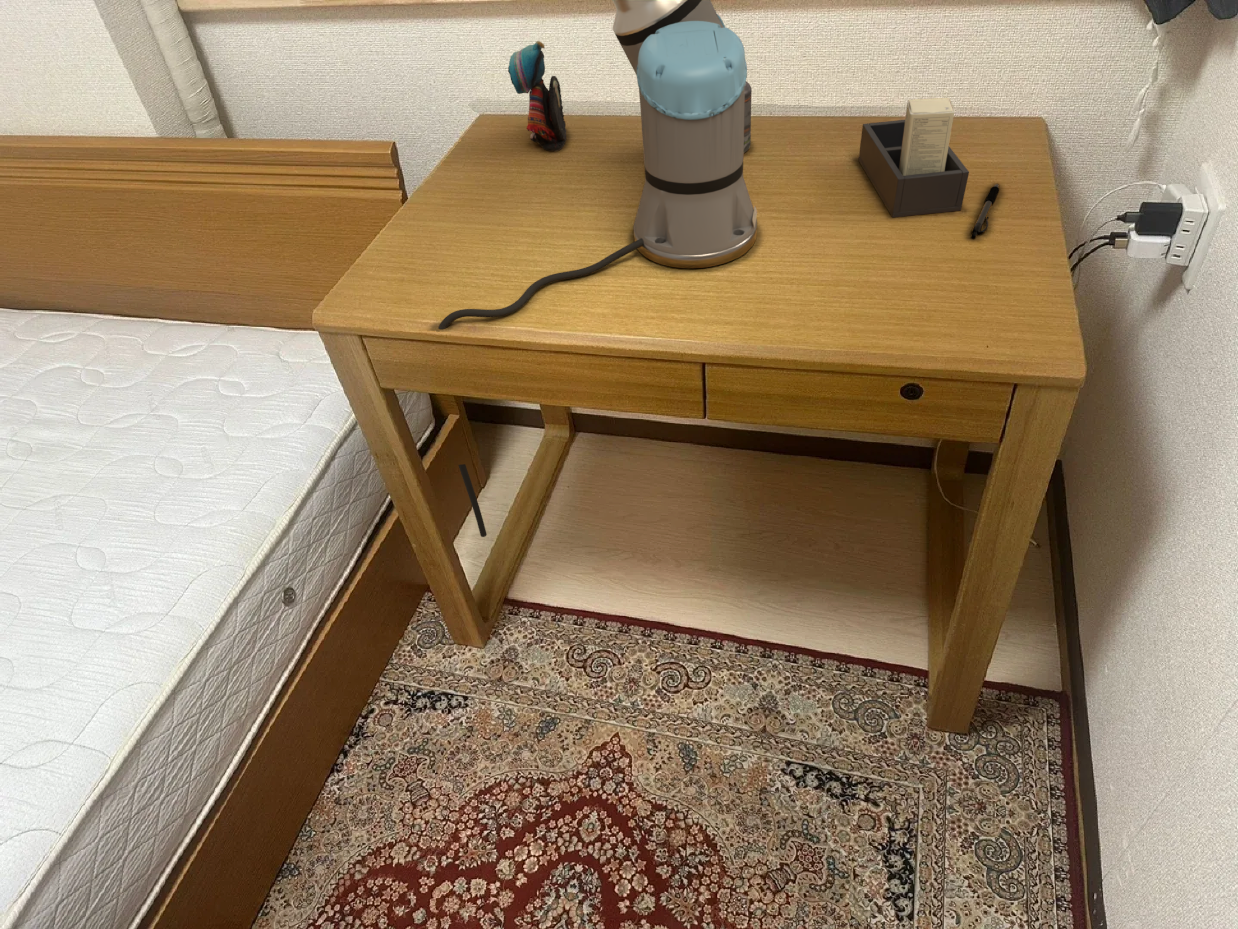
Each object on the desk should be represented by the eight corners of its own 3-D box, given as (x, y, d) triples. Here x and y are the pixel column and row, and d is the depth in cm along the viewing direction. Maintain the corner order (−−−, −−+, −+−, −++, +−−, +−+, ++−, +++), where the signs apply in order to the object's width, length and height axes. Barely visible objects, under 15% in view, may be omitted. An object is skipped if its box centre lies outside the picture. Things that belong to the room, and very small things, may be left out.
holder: (892, 217, 106) (898, 178, 103) (858, 160, 118) (862, 123, 115) (961, 210, 106) (969, 171, 103) (920, 153, 118) (926, 116, 114)
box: (936, 183, 110) (952, 96, 102) (940, 199, 107) (957, 111, 99) (894, 183, 111) (907, 97, 103) (896, 199, 108) (910, 112, 100)
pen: (981, 243, 101) (984, 234, 100) (967, 240, 102) (969, 232, 101) (1005, 190, 110) (1007, 181, 109) (991, 187, 110) (993, 179, 109)
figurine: (529, 128, 135) (513, 27, 124) (573, 127, 134) (561, 24, 123) (517, 156, 128) (498, 51, 117) (563, 155, 127) (549, 49, 116)
